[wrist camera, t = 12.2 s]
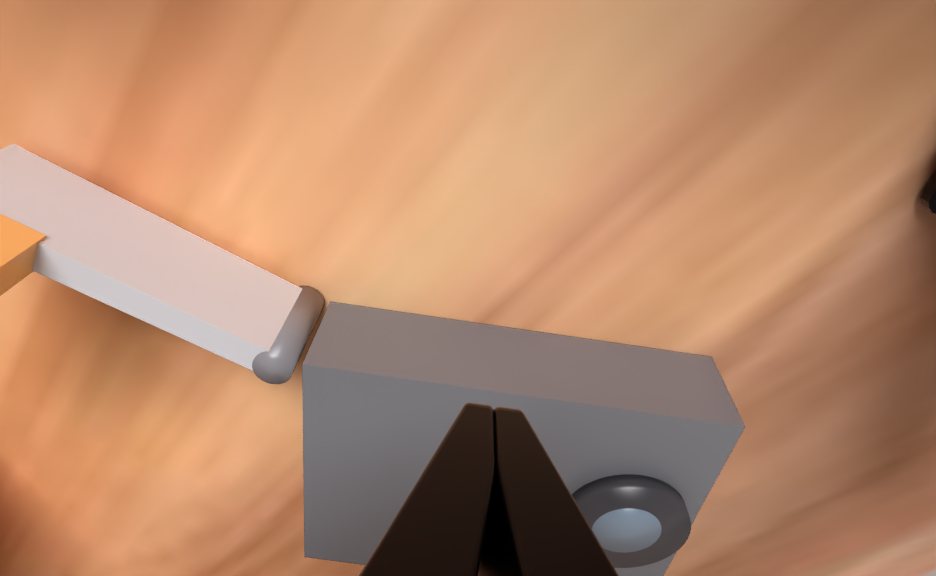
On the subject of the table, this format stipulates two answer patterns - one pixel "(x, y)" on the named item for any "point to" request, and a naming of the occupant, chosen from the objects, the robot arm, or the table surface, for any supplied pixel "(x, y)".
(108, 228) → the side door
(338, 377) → the box with round button
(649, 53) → the table surface
